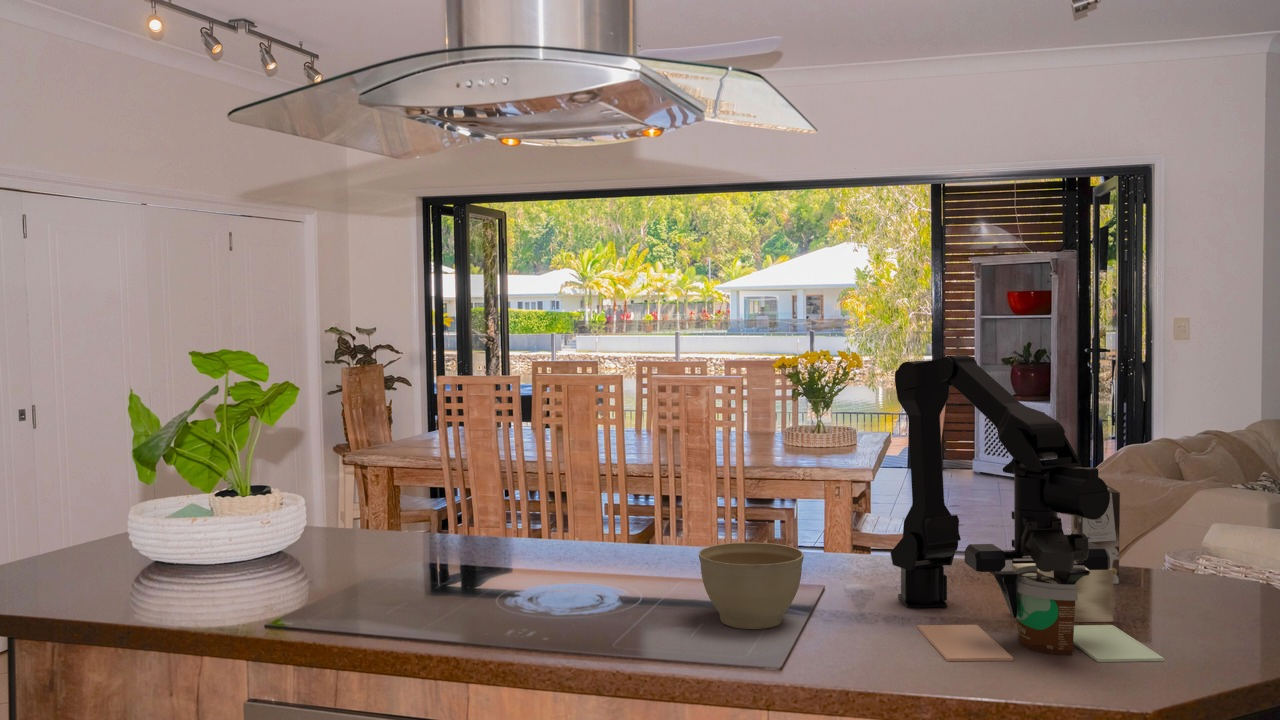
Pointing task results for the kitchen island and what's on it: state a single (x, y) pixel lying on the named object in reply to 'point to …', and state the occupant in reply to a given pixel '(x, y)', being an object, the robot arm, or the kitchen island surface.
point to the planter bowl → (751, 582)
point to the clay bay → (964, 643)
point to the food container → (1045, 612)
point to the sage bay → (1111, 644)
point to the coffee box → (1103, 530)
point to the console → (1090, 595)
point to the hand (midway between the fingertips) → (1036, 616)
